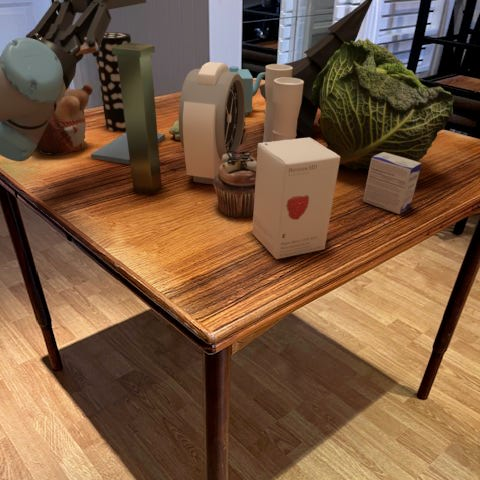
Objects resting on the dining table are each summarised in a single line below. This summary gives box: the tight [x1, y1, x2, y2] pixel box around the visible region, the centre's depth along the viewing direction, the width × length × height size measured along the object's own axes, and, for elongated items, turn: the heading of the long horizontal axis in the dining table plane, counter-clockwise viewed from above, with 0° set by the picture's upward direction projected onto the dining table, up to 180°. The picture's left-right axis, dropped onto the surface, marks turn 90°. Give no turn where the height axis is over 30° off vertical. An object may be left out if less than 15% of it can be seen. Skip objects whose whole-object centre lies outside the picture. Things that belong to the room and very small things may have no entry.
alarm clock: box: [178, 61, 246, 186], centre depth 90 cm, size 18×8×20 cm, turn 164°
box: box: [362, 152, 422, 215], centre depth 85 cm, size 8×4×9 cm, turn 47°
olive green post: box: [112, 42, 163, 196], centre depth 82 cm, size 5×5×24 cm
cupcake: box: [213, 150, 257, 219], centre depth 82 cm, size 10×10×10 cm
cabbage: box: [310, 37, 455, 170], centre depth 96 cm, size 25×24×23 cm
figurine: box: [35, 84, 94, 156], centre depth 101 cm, size 14×16×15 cm
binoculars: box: [262, 63, 304, 143], centre depth 95 cm, size 17×5×18 cm, turn 5°
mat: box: [90, 132, 166, 165], centre depth 107 cm, size 18×9×1 cm, turn 162°
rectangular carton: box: [251, 137, 340, 260], centre depth 71 cm, size 9×9×15 cm
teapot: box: [228, 65, 266, 117], centre depth 128 cm, size 16×18×11 cm
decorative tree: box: [259, 0, 373, 139], centre depth 110 cm, size 15×15×35 cm
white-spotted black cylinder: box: [95, 31, 132, 133], centre depth 112 cm, size 8×8×20 cm
